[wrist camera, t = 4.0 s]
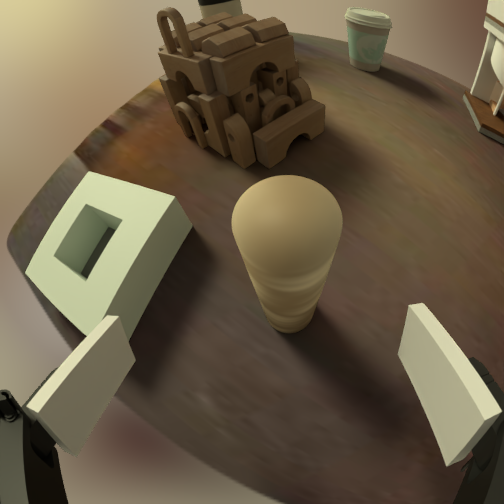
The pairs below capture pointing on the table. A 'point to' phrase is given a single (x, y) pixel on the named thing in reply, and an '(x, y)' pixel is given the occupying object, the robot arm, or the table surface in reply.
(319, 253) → the dowel
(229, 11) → the travel mug
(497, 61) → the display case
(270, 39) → the wooden puzzle
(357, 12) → the coffee cup
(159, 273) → the socket block
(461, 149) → the table surface
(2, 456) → the robot arm
